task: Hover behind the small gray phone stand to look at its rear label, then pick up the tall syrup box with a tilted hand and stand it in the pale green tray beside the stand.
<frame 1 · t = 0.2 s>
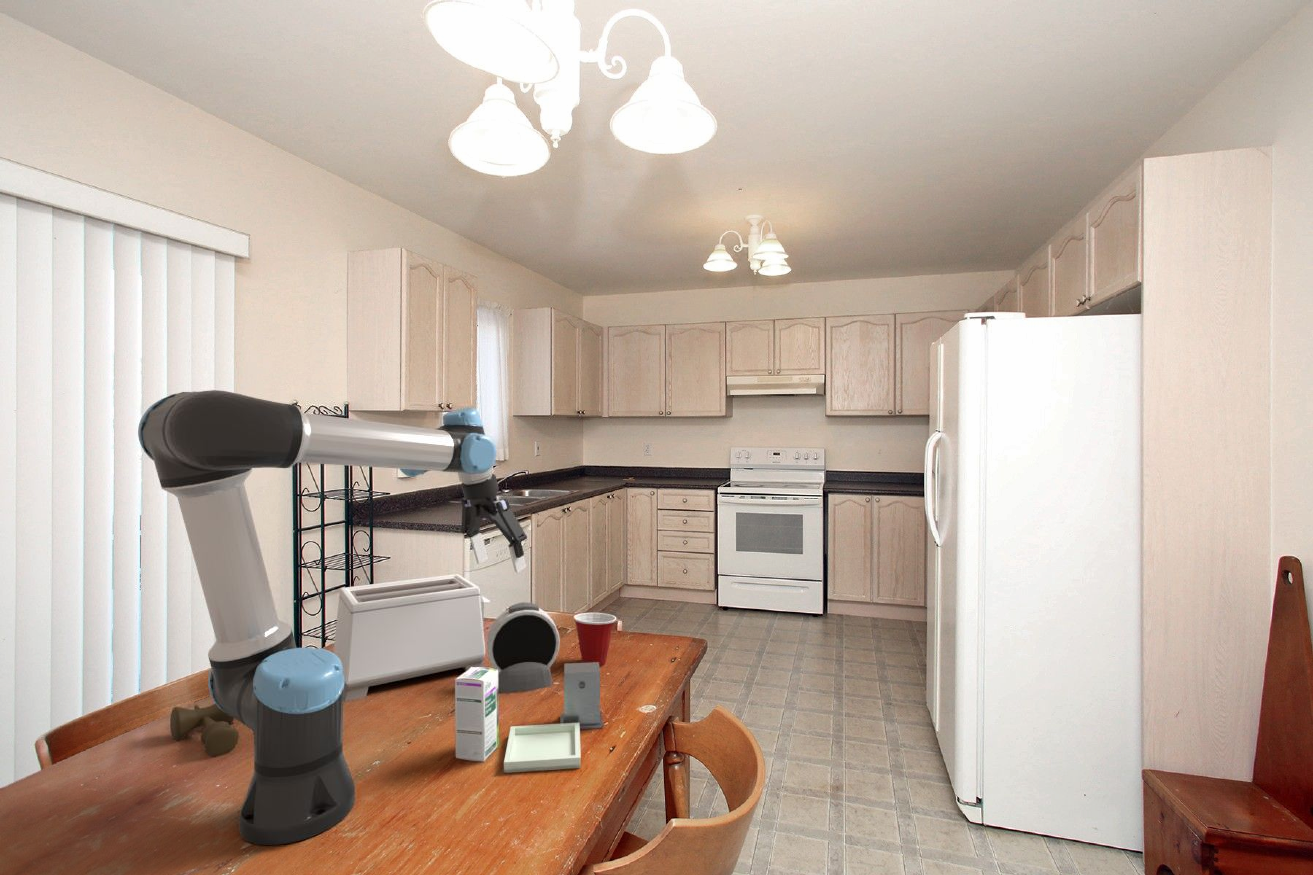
hand: (501, 565, 141), 28 cm above the table, tool tilted 20°, fingers open, 13 cm apart
plastic cup: (594, 663, 156), on the table
tray: (544, 750, 113), on the table
toaster: (416, 672, 150), on the table
gray phone stand: (581, 722, 124), on the table
alarm clock: (523, 683, 143), on the table
syrup box: (477, 753, 112), on the table
kendama: (208, 739, 117), on the table
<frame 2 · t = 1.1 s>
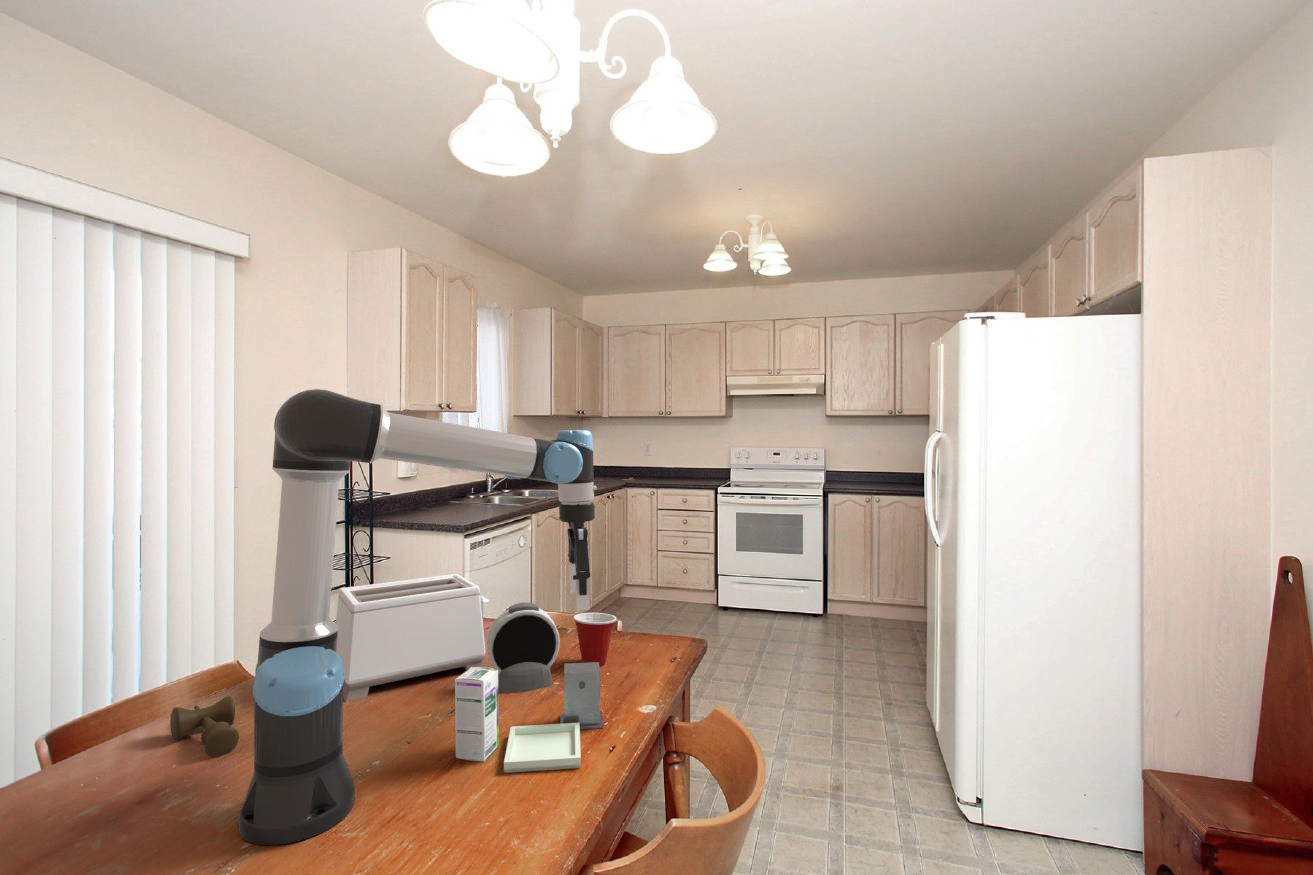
hand: (579, 600, 133), 22 cm above the table, tool pointing down, fingers open, 13 cm apart
nothing on the table moved.
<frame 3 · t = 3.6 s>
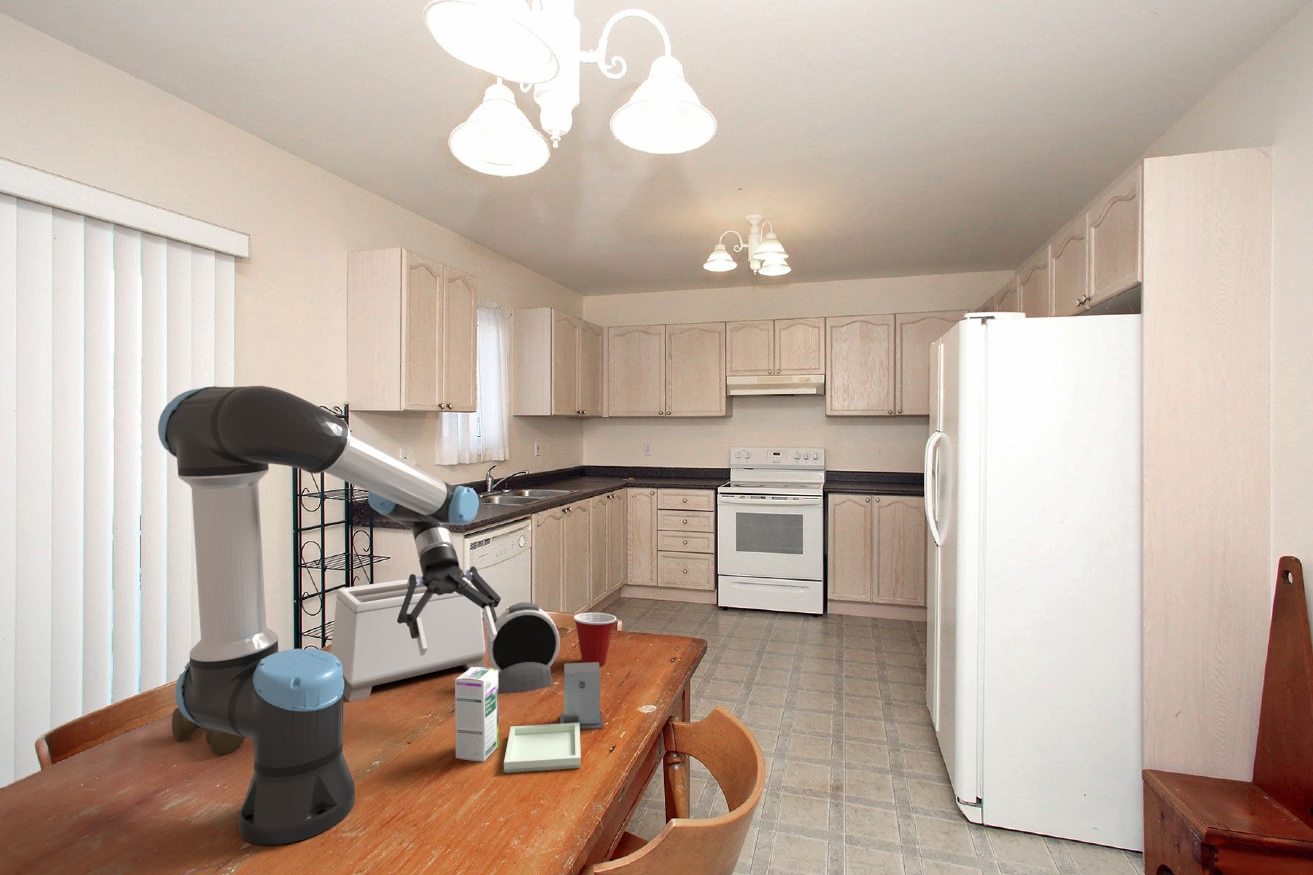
hand: (460, 644, 120), 17 cm above the table, tool tilted 45°, fingers open, 13 cm apart
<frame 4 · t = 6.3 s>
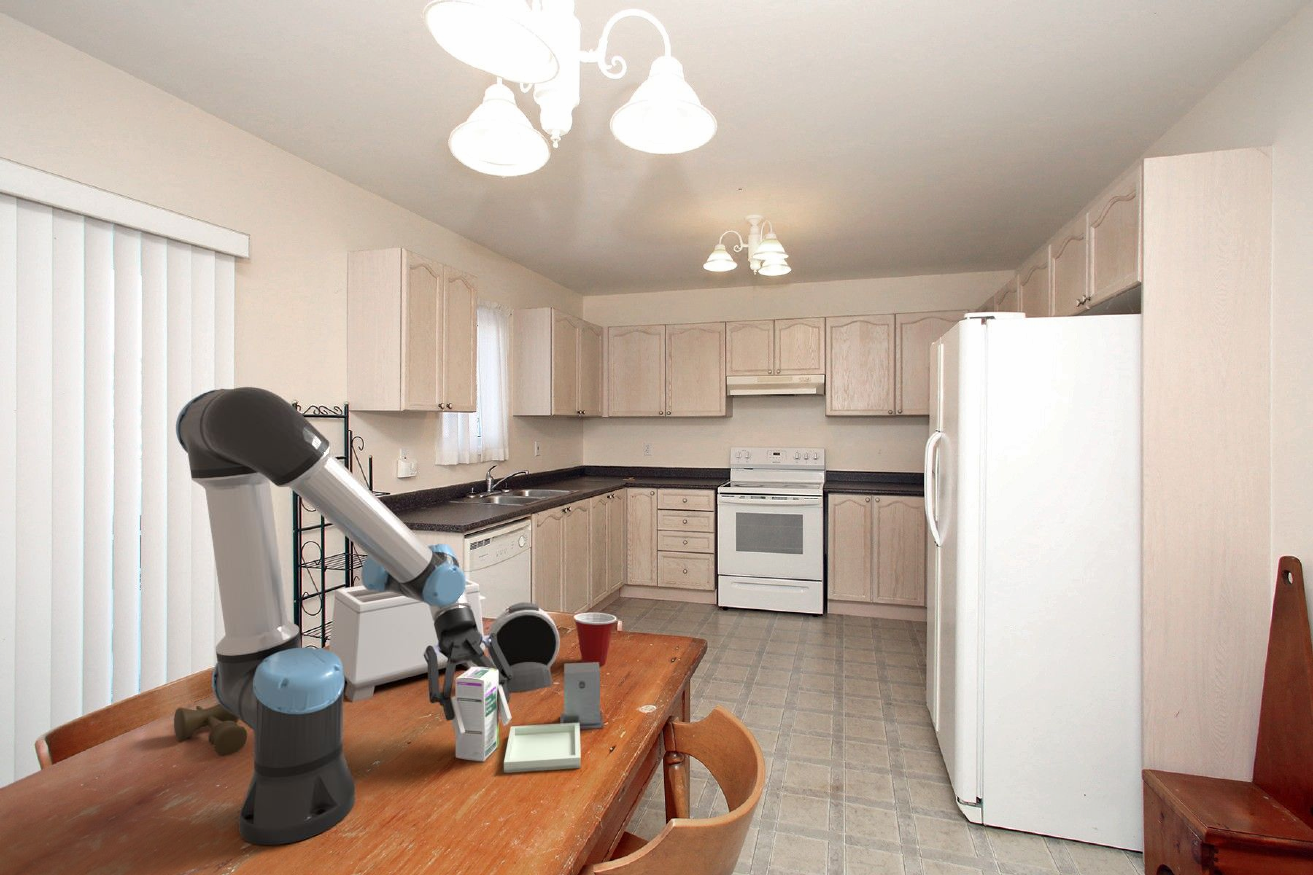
hand: (484, 728, 109), 6 cm above the table, tool tilted 45°, fingers closed on syrup box, 8 cm apart
syrup box: (477, 753, 112), on the table, touching gripper
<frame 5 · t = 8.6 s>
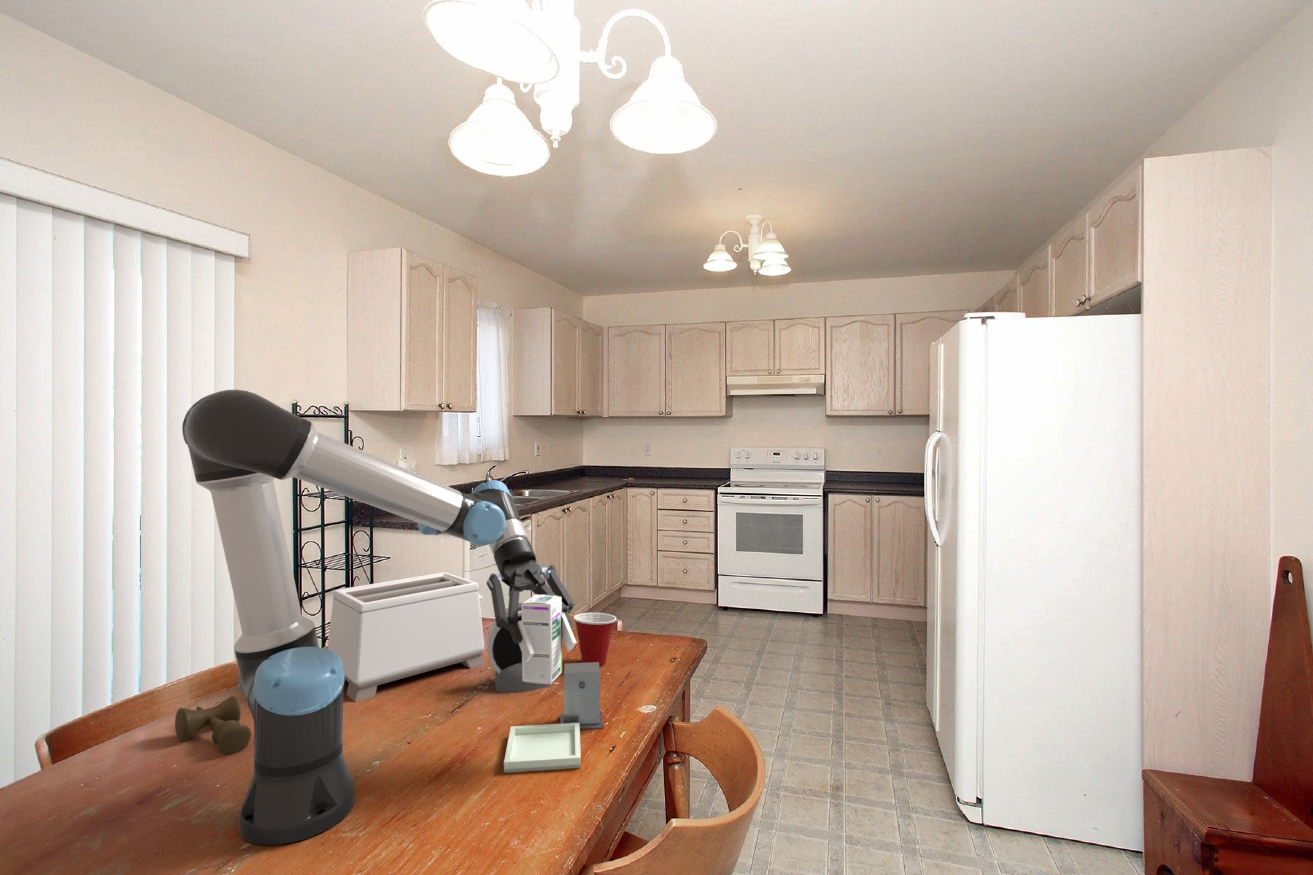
hand: (551, 651, 110), 19 cm above the table, tool tilted 45°, fingers closed on syrup box, 8 cm apart
syrup box: (541, 678, 113), point 13 cm above the table, touching gripper
when the fingers open (8 cm above the table, at t = 11.1 s): syrup box drops 1 cm, point 1 cm above the table.
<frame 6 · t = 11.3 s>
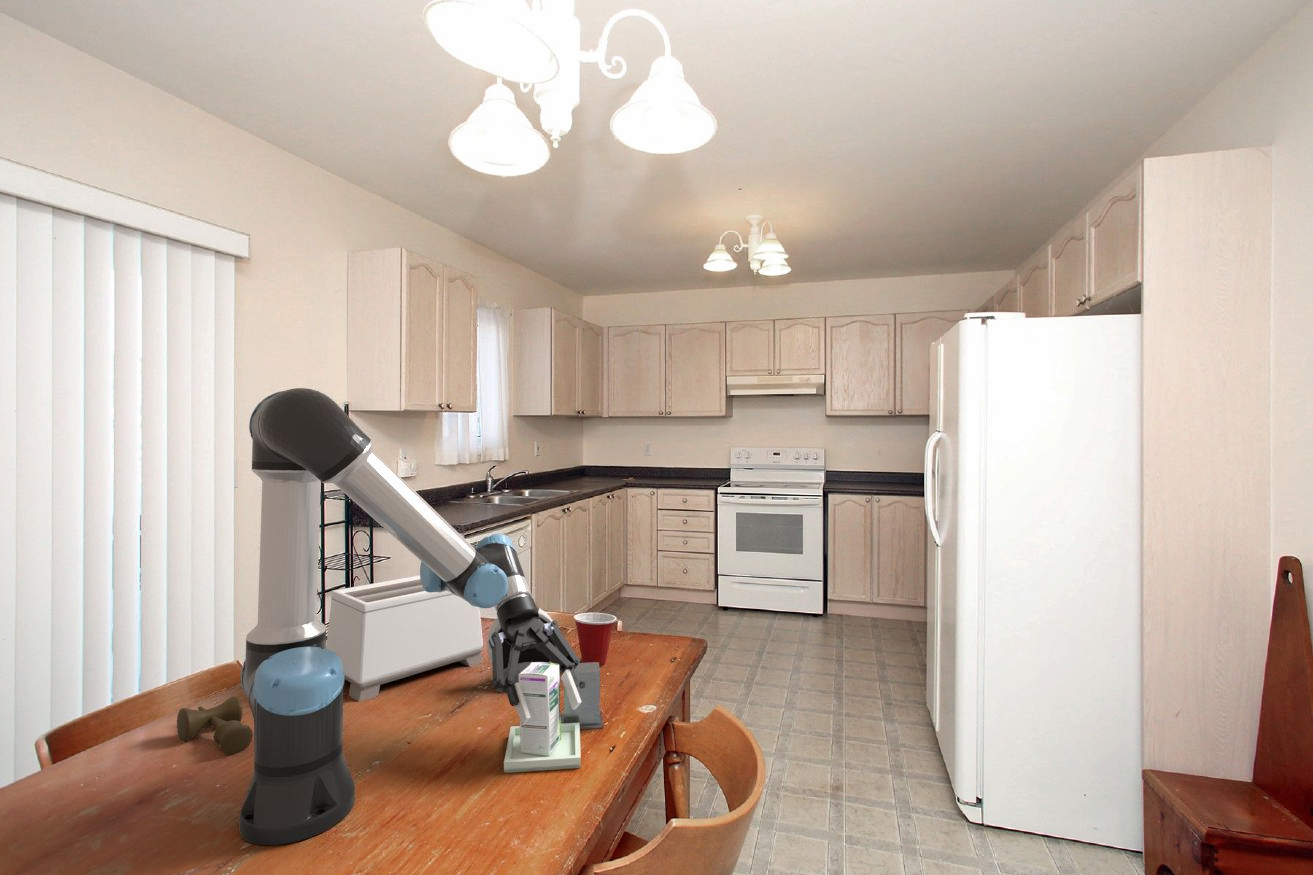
hand: (552, 713, 110), 8 cm above the table, tool tilted 45°, fingers open, 9 cm apart
syrup box: (540, 747, 112), point 1 cm above the table, touching gripper
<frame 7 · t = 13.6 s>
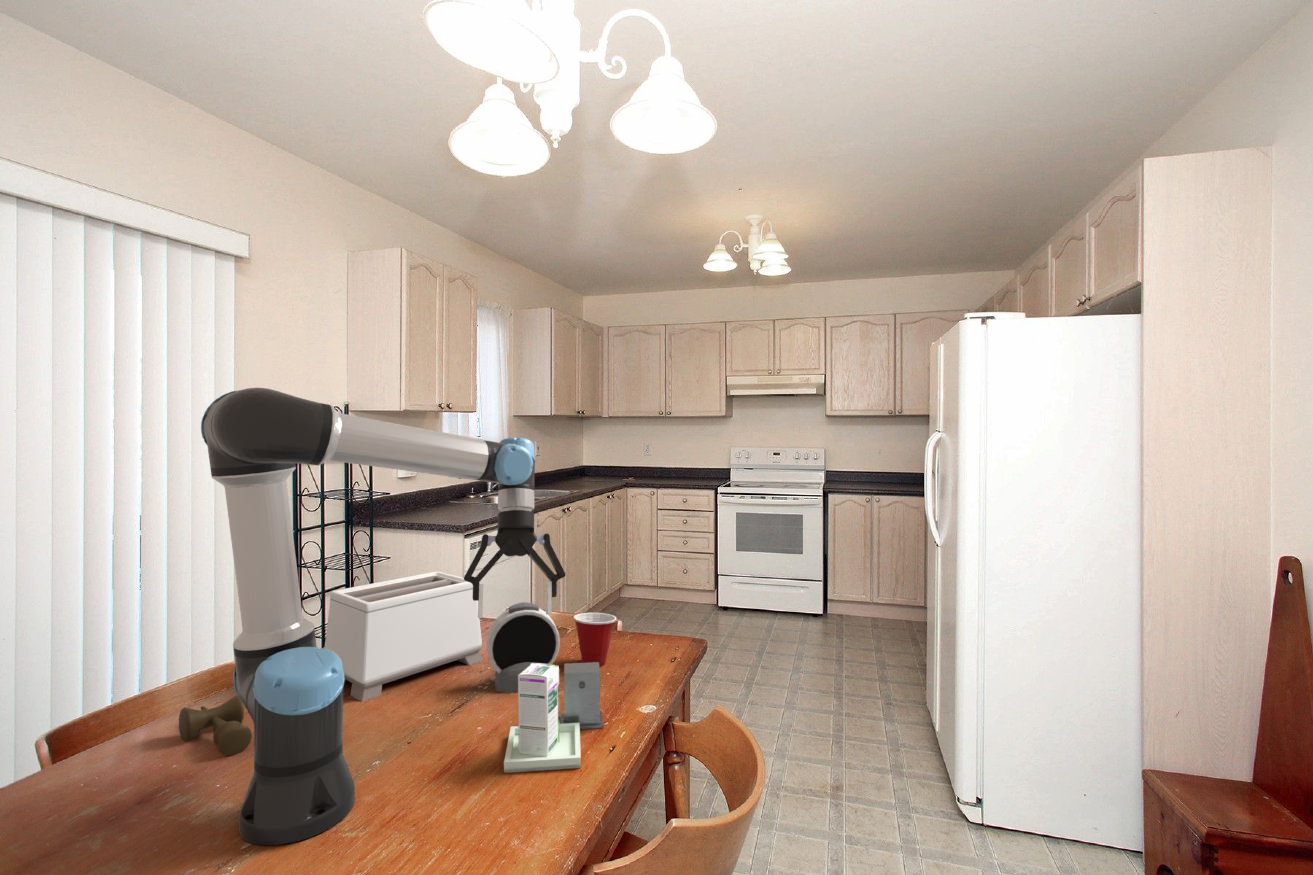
hand: (515, 616, 125), 21 cm above the table, tool tilted 15°, fingers open, 13 cm apart
syrup box: (538, 749, 112), resting on tray
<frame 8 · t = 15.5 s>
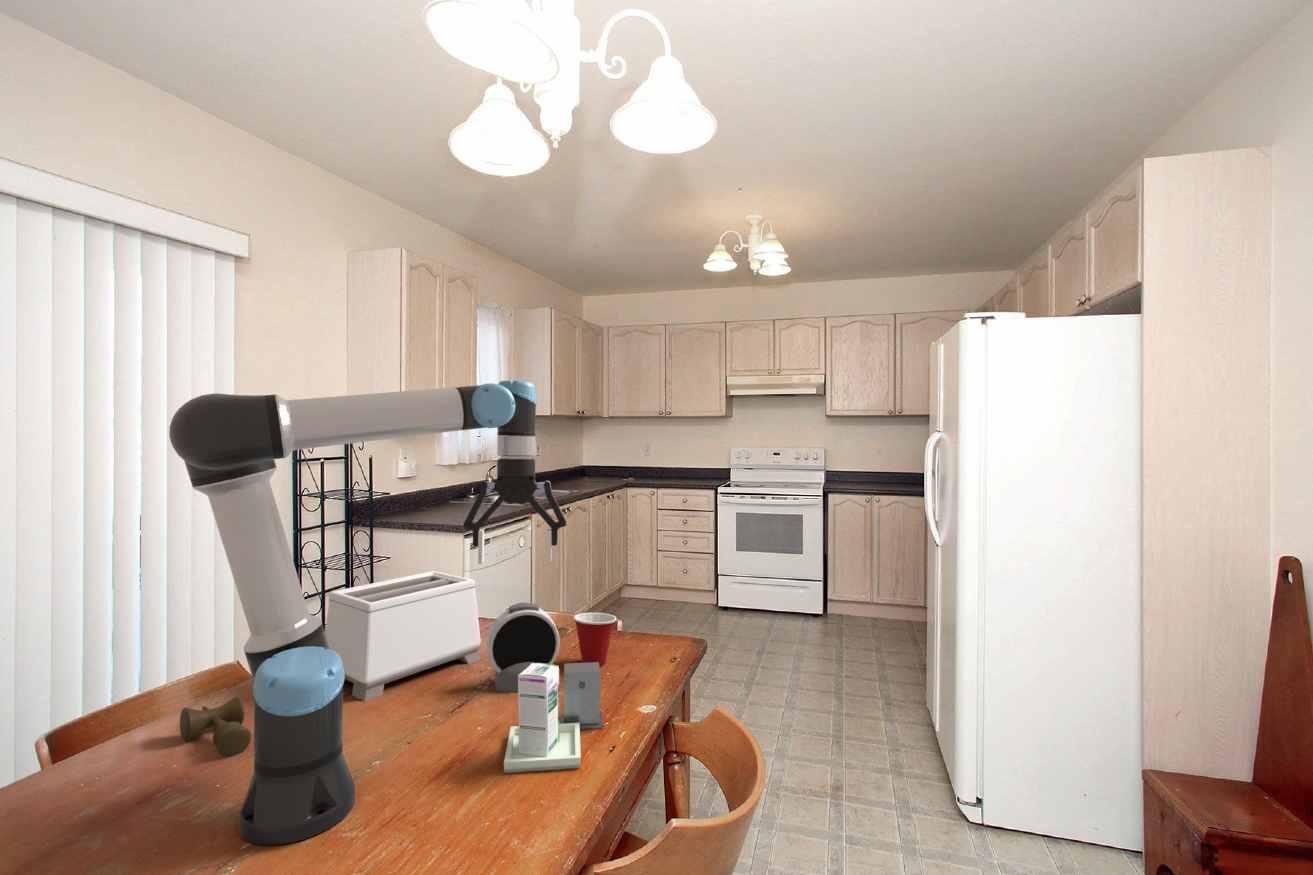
hand: (515, 562, 125), 32 cm above the table, tool pointing down, fingers open, 13 cm apart
at the end: syrup box inside the target area on the tray (0.9 cm from its centre), point 0.4 cm above the tray's base; syrup box tilted 0°; the gripper is holding nothing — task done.
